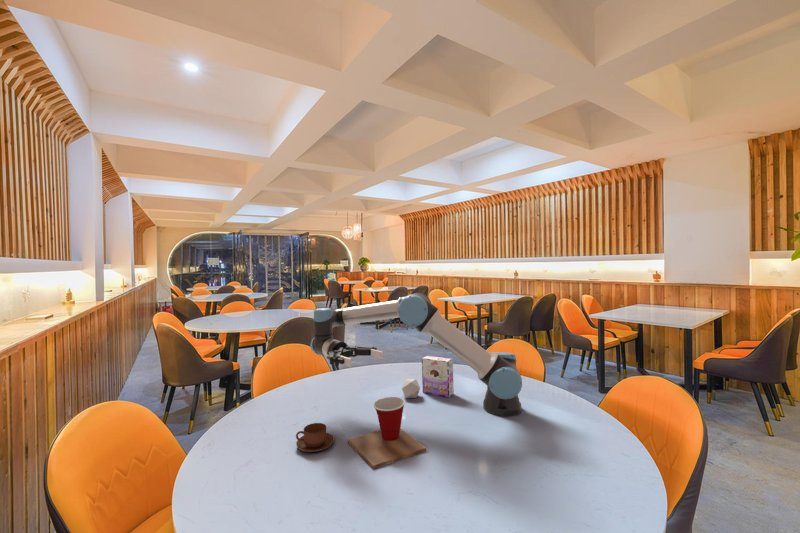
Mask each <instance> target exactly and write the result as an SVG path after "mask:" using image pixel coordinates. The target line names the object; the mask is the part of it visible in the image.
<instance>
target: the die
mask: <svg viewBox="0 0 800 533" xmlns="http://www.w3.org/2000/svg"><path fill="white" fill-rule="evenodd" d="M401 390H402V393H403V396H404V398H405V399H418V395H419V393H420V390H421V386H420V384H419V382H418V380H417V378H405V380H404V382H403V384H402V387H401Z"/></svg>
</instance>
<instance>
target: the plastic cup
mask: <svg viewBox="0 0 800 533" xmlns="http://www.w3.org/2000/svg"><path fill="white" fill-rule="evenodd" d="M405 404H406V400H405V399H404V398H402V397H398V396H388V397H382V398H379V399H377V400H376V401H374V402H373V407H374V409H375V411H376V414H377V418H378V419H377V420H378V423H379V430H381V435H382V438H383V439H384V440H386V441H394V440H396V439H398V437H399V433H400V429H401V426H402V419H403V412H404V408H405Z"/></svg>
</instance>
